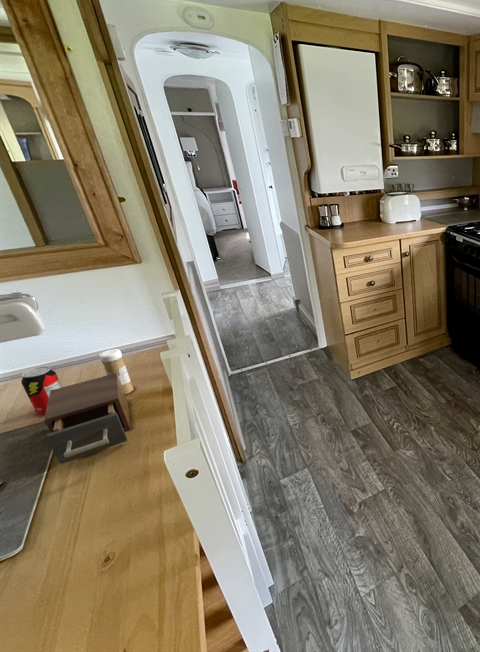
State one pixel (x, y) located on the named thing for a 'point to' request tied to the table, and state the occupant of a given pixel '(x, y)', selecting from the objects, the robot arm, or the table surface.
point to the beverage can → (40, 386)
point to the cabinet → (87, 399)
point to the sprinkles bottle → (116, 368)
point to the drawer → (86, 433)
